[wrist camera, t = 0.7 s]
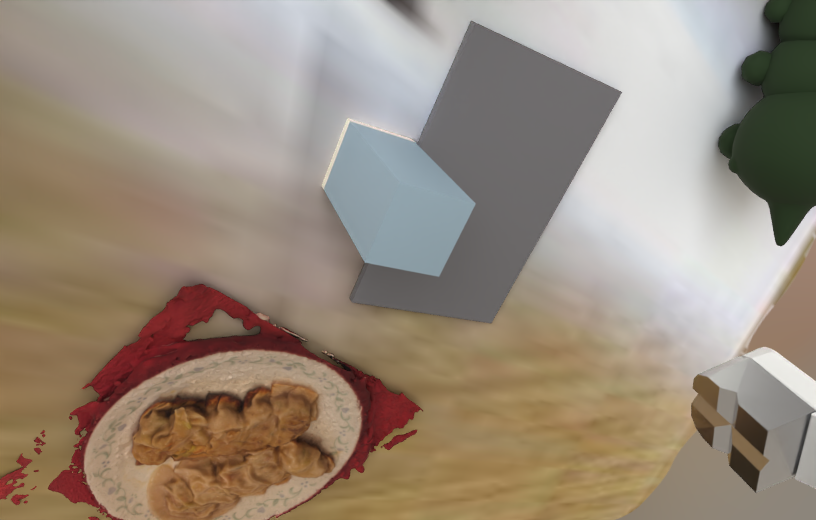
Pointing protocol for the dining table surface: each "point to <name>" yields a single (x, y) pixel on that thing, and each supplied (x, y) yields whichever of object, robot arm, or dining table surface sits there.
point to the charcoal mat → (496, 170)
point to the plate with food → (220, 422)
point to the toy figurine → (780, 120)
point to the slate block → (395, 200)
